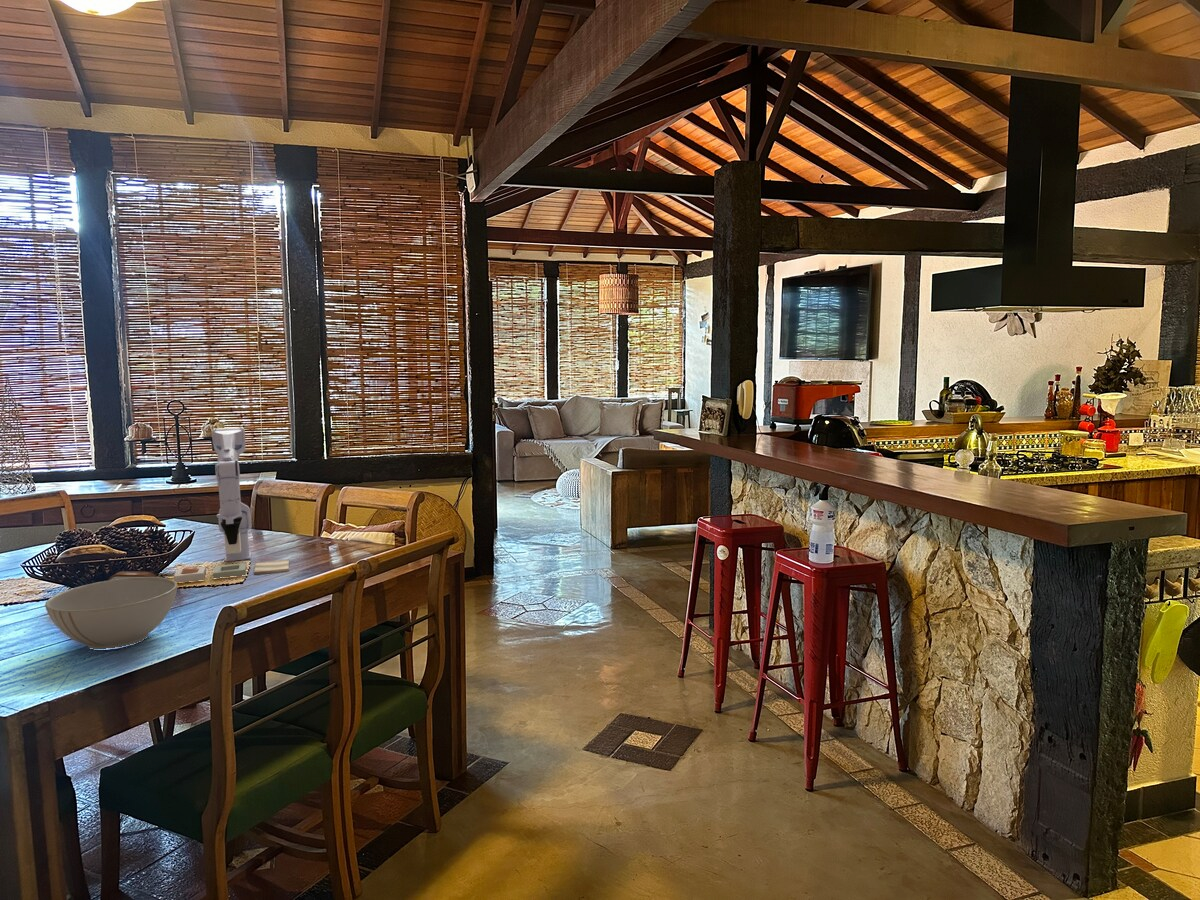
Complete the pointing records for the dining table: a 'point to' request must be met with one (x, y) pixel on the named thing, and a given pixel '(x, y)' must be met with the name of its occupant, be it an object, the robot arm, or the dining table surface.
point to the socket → (230, 570)
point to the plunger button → (189, 570)
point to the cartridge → (233, 545)
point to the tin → (131, 575)
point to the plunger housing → (190, 575)
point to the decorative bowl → (112, 610)
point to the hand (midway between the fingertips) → (233, 542)
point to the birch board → (271, 567)
